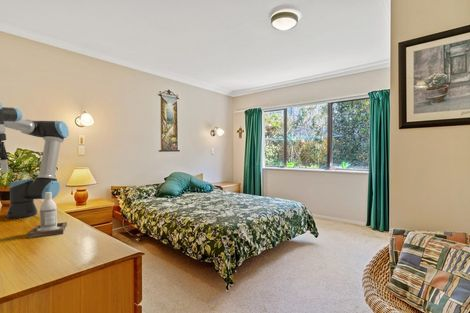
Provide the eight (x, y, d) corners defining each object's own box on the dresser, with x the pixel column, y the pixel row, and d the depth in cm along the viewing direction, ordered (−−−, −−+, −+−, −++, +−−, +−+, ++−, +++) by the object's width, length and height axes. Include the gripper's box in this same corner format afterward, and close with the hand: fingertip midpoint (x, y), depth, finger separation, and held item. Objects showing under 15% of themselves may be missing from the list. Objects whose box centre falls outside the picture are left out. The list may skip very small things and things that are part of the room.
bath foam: (43, 228, 133) (43, 191, 132) (59, 227, 135) (58, 191, 134) (38, 233, 126) (37, 194, 125) (54, 231, 128) (53, 193, 128)
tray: (35, 229, 134) (35, 225, 134) (67, 226, 140) (66, 222, 140) (28, 238, 121) (28, 233, 121) (63, 233, 128) (63, 229, 128)
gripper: (-7, 132, 135) (-1, 170, 138) (-25, 134, 114) (-18, 179, 117) (11, 132, 139) (16, 169, 142) (-3, 133, 118) (3, 177, 121)
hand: (1, 174), depth 129 cm, fingers open, 13 cm apart
